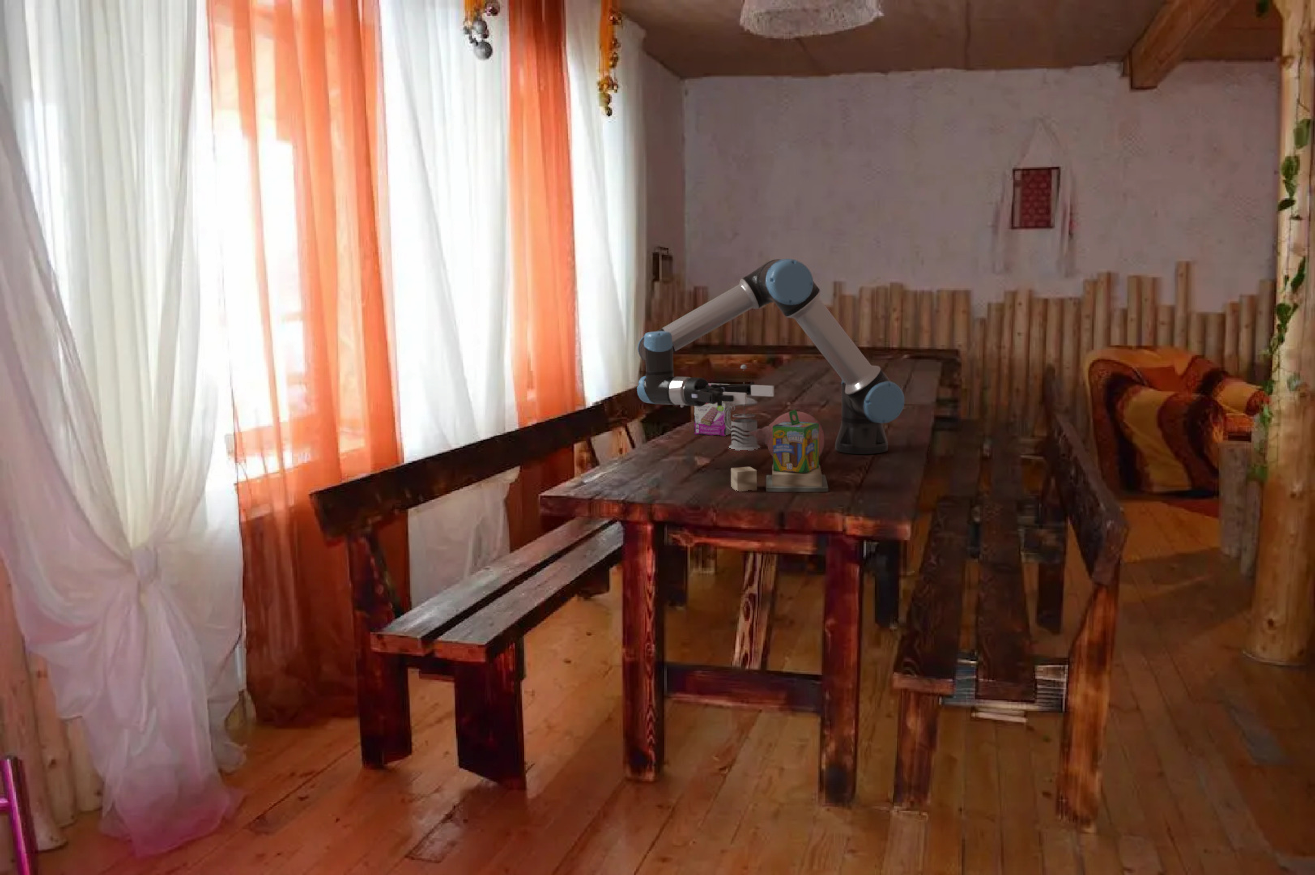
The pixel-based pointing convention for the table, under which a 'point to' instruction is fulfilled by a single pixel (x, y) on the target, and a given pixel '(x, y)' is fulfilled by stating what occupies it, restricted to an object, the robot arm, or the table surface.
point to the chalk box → (795, 446)
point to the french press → (743, 427)
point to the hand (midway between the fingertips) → (760, 394)
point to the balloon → (767, 432)
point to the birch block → (744, 479)
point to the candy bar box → (712, 419)
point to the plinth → (796, 481)
